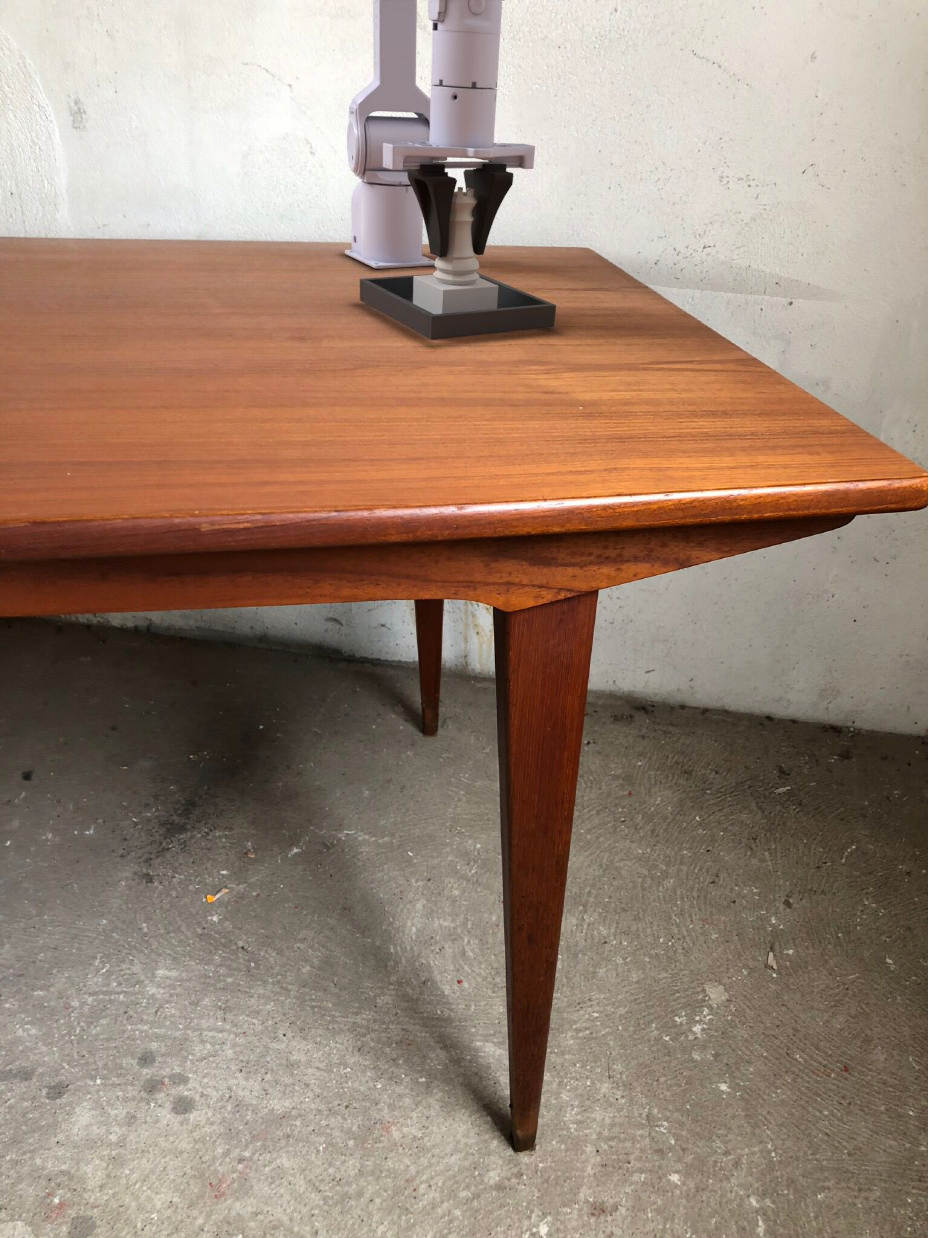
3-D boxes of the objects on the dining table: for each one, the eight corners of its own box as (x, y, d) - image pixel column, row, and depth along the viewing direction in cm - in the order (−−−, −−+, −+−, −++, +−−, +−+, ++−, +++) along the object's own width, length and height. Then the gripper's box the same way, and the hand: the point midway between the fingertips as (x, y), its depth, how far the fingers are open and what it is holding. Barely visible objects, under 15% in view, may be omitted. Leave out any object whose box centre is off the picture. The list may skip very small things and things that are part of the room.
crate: (359, 305, 91) (359, 278, 90) (472, 296, 97) (474, 270, 96) (430, 346, 80) (431, 316, 79) (553, 332, 86) (556, 304, 85)
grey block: (412, 307, 89) (413, 275, 88) (465, 303, 92) (467, 272, 90) (441, 322, 85) (443, 289, 83) (496, 317, 87) (498, 285, 86)
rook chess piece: (474, 287, 84) (479, 193, 80) (427, 283, 85) (430, 189, 81) (483, 277, 88) (488, 187, 84) (438, 273, 89) (441, 183, 85)
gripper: (409, 86, 72) (407, 266, 79) (559, 92, 79) (544, 258, 86) (372, 81, 77) (372, 251, 84) (515, 87, 84) (504, 244, 91)
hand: (456, 253), depth 85 cm, fingers closed on rook chess piece, 3 cm apart
